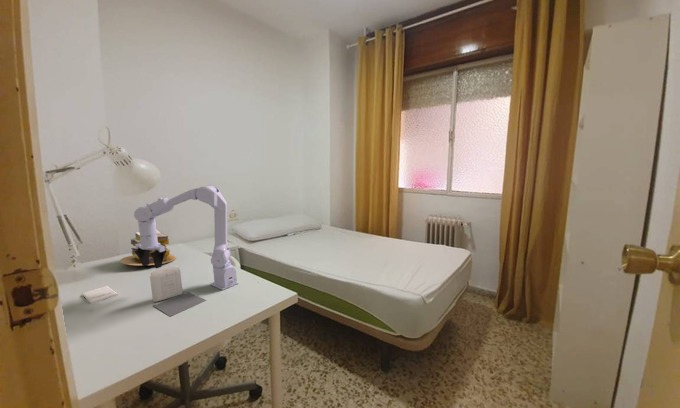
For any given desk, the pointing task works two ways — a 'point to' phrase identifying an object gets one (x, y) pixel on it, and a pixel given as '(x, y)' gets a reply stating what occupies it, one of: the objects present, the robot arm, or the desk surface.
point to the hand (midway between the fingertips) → (152, 266)
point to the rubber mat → (179, 303)
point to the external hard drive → (99, 294)
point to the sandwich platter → (161, 239)
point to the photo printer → (166, 283)
